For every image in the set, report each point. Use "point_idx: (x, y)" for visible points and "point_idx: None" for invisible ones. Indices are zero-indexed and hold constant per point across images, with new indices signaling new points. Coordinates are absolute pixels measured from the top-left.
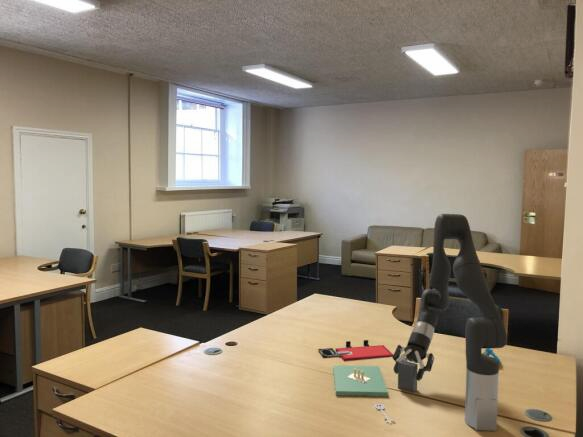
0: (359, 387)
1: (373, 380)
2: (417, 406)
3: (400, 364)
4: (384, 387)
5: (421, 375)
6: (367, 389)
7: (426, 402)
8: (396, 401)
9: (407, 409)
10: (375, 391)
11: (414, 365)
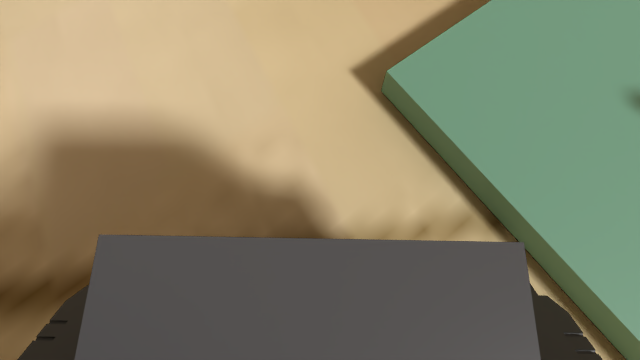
0: (606, 5)
1: (630, 190)
2: (127, 92)
3: (451, 249)
4: (458, 126)
5: (50, 329)
6: (538, 15)
7: (80, 191)
8: (289, 65)
9: (177, 17)
10: (468, 22)
11: (108, 334)
